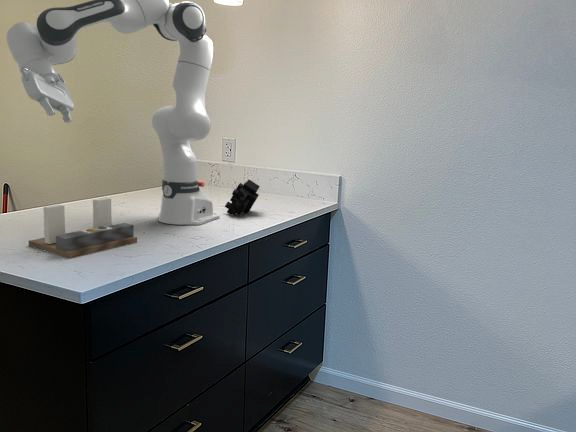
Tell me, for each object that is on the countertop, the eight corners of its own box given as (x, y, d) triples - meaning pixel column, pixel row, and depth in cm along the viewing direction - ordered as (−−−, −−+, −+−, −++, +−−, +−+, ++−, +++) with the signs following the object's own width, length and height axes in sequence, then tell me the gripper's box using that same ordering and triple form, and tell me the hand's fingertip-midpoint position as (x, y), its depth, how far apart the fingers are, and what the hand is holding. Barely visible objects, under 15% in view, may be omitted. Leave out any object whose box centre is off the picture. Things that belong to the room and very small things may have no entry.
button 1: (59, 239, 161) (58, 204, 159) (65, 240, 159) (64, 205, 157) (43, 242, 157) (42, 206, 155) (49, 244, 155) (47, 207, 153)
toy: (219, 214, 211) (234, 195, 224) (238, 226, 212) (252, 206, 224) (231, 191, 205) (246, 173, 217) (251, 204, 205) (265, 185, 217)
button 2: (106, 230, 174) (105, 197, 172) (111, 231, 173) (111, 198, 171) (92, 232, 170) (91, 199, 168) (97, 234, 168) (97, 200, 166)
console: (97, 232, 178) (96, 214, 177) (137, 242, 168) (137, 224, 167) (28, 245, 159) (27, 226, 158) (69, 258, 150) (68, 237, 148)
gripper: (29, 59, 153) (51, 104, 152) (67, 81, 173) (86, 120, 172) (9, 70, 154) (30, 115, 152) (49, 91, 174) (68, 130, 173)
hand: (60, 118), depth 162 cm, fingers open, 8 cm apart
